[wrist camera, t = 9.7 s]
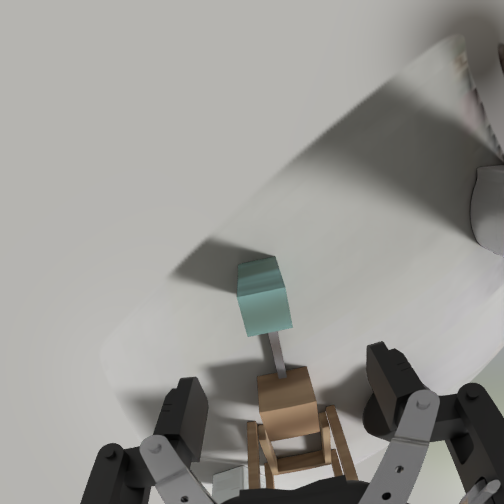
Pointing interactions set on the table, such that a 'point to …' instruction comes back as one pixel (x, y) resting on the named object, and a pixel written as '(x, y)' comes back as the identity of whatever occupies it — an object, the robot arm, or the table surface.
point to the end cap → (377, 420)
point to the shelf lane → (303, 460)
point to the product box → (231, 483)
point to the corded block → (275, 353)
